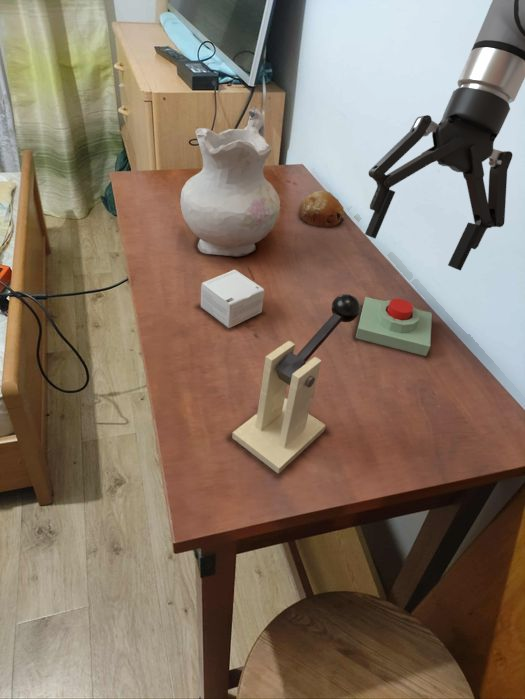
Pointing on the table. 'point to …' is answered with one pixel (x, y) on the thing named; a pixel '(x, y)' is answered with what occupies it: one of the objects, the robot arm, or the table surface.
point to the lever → (320, 335)
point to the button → (400, 309)
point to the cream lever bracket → (282, 413)
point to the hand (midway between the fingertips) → (412, 252)
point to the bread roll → (321, 209)
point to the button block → (395, 328)
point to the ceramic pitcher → (231, 190)
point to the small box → (231, 298)
